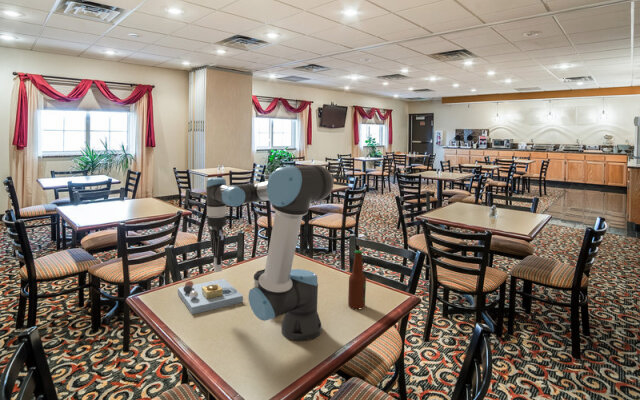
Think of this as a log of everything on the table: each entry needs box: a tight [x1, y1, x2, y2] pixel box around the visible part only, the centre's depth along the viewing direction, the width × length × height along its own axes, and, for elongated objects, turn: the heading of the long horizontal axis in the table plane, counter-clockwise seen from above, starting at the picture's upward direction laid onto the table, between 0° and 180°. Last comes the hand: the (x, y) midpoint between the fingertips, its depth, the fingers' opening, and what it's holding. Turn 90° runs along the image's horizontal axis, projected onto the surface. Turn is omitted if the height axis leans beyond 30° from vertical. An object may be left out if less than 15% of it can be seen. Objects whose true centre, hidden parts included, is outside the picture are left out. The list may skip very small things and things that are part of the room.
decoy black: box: [183, 285, 192, 293], centre depth 165 cm, size 4×4×4 cm
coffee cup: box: [253, 268, 265, 287], centre depth 160 cm, size 9×9×15 cm
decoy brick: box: [184, 280, 194, 287], centre depth 170 cm, size 4×4×4 cm
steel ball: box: [190, 291, 198, 299], centre depth 159 cm, size 4×4×4 cm
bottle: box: [347, 249, 367, 310], centre depth 159 cm, size 7×7×25 cm
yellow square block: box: [202, 284, 223, 299], centre depth 163 cm, size 7×7×4 cm
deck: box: [177, 278, 244, 315], centre depth 167 cm, size 24×22×3 cm
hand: (218, 271), depth 154 cm, fingers closed
